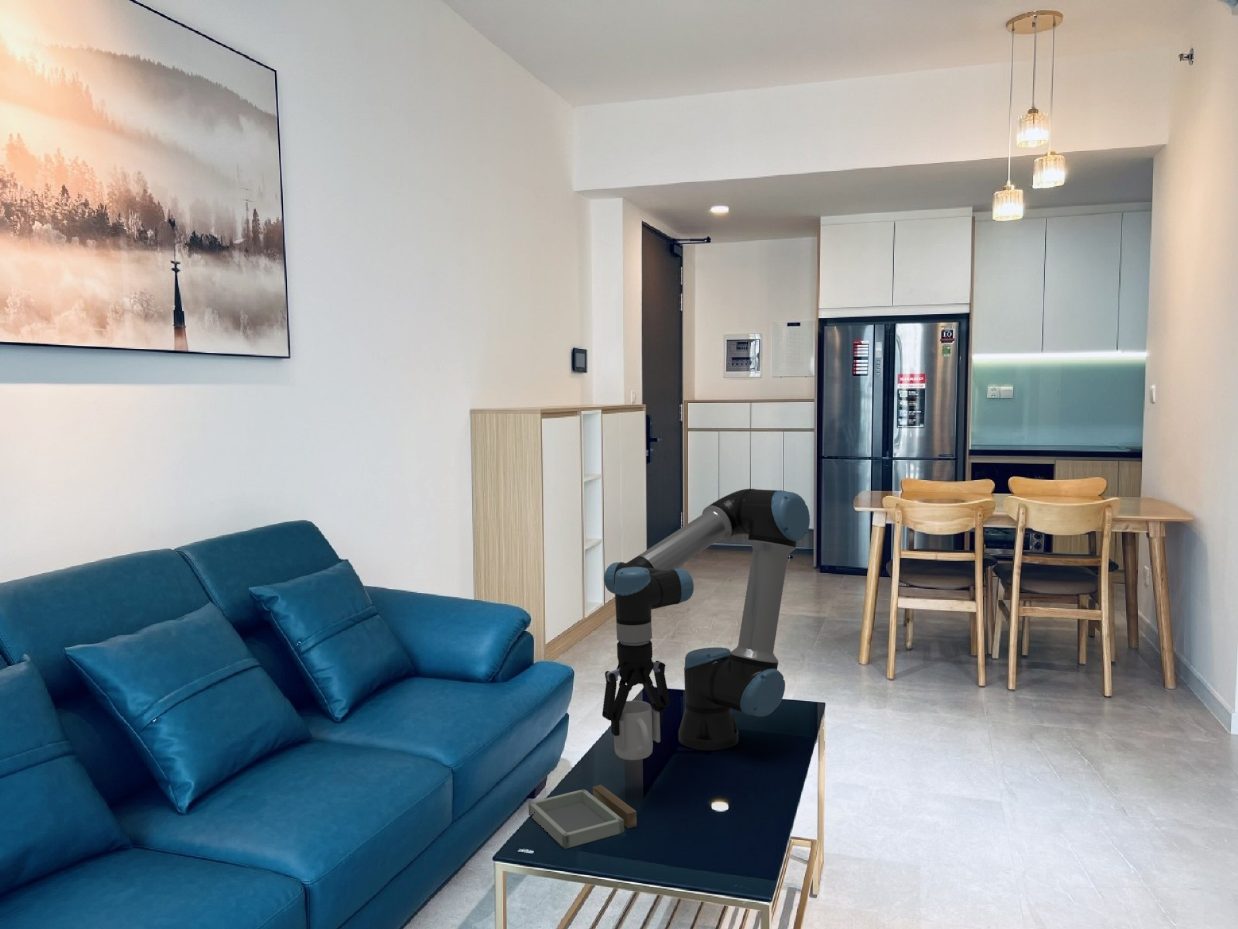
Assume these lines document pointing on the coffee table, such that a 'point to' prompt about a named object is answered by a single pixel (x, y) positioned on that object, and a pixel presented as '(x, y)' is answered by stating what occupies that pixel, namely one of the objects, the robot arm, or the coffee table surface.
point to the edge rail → (616, 805)
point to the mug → (636, 731)
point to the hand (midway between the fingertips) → (637, 744)
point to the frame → (576, 818)
